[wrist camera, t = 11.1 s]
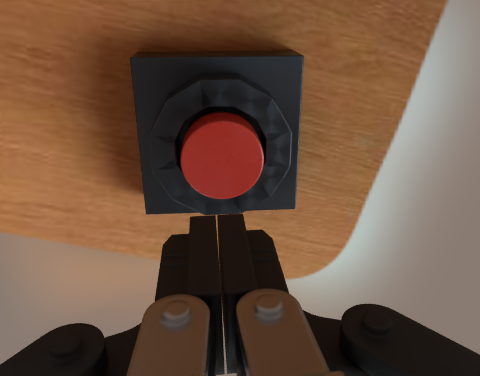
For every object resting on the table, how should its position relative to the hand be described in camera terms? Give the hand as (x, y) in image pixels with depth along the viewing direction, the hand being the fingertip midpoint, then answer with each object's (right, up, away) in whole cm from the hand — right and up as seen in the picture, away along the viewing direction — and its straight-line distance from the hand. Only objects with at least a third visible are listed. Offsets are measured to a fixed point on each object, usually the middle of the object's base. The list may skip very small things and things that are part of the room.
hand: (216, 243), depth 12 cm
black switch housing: (0, +5, +11) cm, 12 cm away
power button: (0, +3, +8) cm, 8 cm away
